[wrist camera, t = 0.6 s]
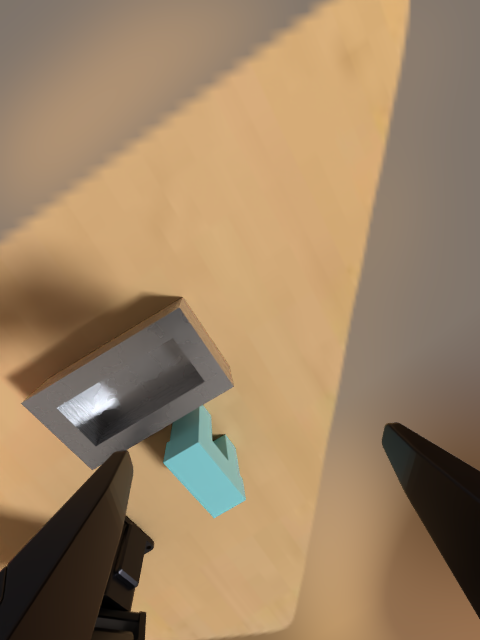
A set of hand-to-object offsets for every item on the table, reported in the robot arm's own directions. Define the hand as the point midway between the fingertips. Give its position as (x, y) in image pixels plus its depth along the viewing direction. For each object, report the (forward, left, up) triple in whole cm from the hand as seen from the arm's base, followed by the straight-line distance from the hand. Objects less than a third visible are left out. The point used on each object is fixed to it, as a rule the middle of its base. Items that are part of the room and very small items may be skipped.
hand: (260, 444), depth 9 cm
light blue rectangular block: (-7, -8, -14) cm, 18 cm away
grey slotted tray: (-8, 0, -14) cm, 16 cm away
